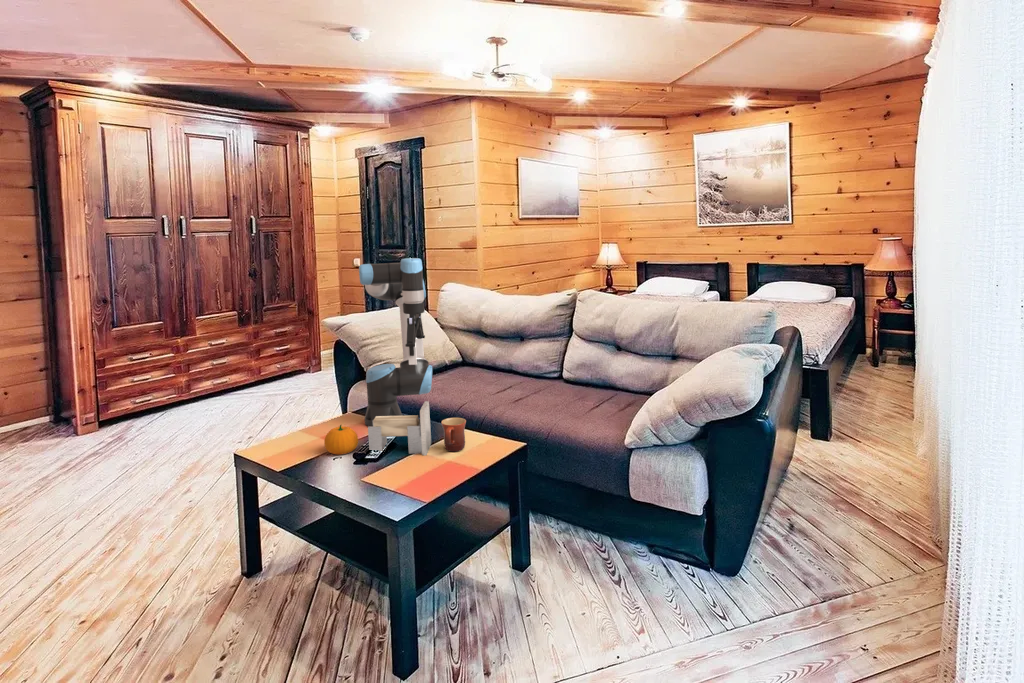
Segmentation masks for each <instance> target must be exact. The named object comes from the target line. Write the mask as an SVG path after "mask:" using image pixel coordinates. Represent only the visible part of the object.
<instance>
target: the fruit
mask: <svg viewBox="0 0 1024 683" xmlns="http://www.w3.org/2000/svg"><path fill="white" fill-rule="evenodd" d="M358 445H359V437H358V434H357V432H356V431H355V430H354V429H353V428H351V427H350V426H342V424H340V425H339V426H335V427H333V428H332V429H330V430H329V431H328V432H327V433H326V435H325V437H324V448H325V450H326V451H327V452H328V453H330V454H333V455H338V456H339V455H340V456H341V455H346V454H349V453H352V452H353V451H355V449H356V448H357V447H358Z"/></svg>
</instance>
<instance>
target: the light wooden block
mask: <svg viewBox="0 0 1024 683" xmlns="http://www.w3.org/2000/svg"><path fill="white" fill-rule="evenodd" d="M418 419H419V415H418V414H417V415H413V414H412V415H402V416H376V417H375V419H374V420H373V423H374V426H381V432H382V436H387V437H408V430H407V426H413V425H419V422H418Z"/></svg>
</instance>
